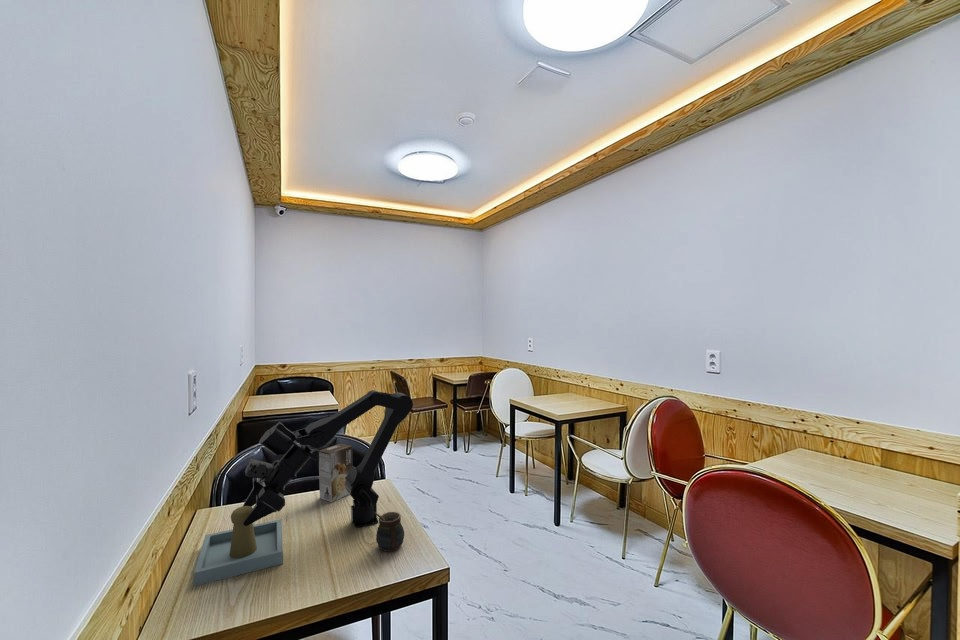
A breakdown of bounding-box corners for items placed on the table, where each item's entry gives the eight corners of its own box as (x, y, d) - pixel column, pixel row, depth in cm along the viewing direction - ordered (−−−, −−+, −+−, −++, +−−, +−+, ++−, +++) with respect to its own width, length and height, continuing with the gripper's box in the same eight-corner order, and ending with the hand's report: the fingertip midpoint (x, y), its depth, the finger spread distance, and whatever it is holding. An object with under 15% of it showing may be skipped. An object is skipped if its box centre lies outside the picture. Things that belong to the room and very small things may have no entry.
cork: (233, 561, 101) (232, 516, 101) (226, 551, 105) (225, 508, 105) (260, 551, 105) (259, 508, 105) (252, 542, 109) (252, 500, 109)
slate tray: (281, 529, 117) (281, 519, 117) (283, 563, 101) (282, 551, 101) (205, 546, 109) (205, 534, 109) (194, 586, 93) (194, 572, 93)
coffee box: (341, 488, 145) (340, 442, 144) (354, 492, 141) (353, 445, 141) (318, 498, 137) (318, 450, 137) (331, 503, 133) (330, 453, 133)
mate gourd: (408, 549, 107) (407, 511, 106) (379, 558, 103) (378, 519, 103) (399, 536, 113) (398, 500, 113) (372, 544, 109) (370, 507, 109)
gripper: (262, 438, 116) (216, 487, 110) (268, 458, 100) (215, 516, 94) (293, 461, 120) (251, 509, 114) (304, 483, 104) (256, 540, 98)
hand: (243, 517), depth 105 cm, fingers open, 9 cm apart
